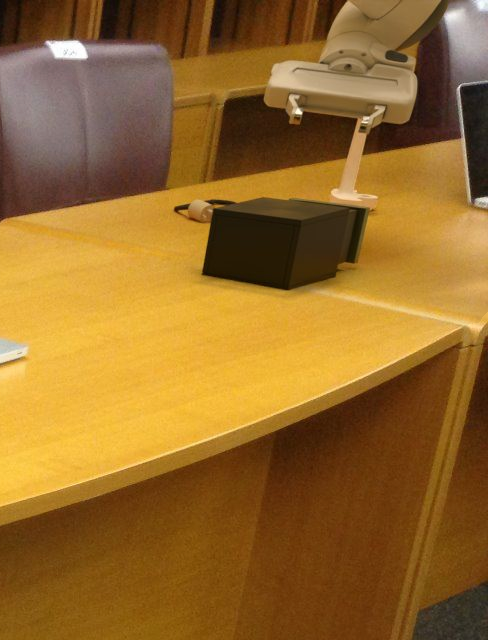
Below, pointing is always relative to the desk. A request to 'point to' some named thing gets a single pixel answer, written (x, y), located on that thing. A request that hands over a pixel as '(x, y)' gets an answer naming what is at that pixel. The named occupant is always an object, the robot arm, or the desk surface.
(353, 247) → the drawer
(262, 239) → the cabinet
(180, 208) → the cable
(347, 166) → the joystick
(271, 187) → the desk surface
